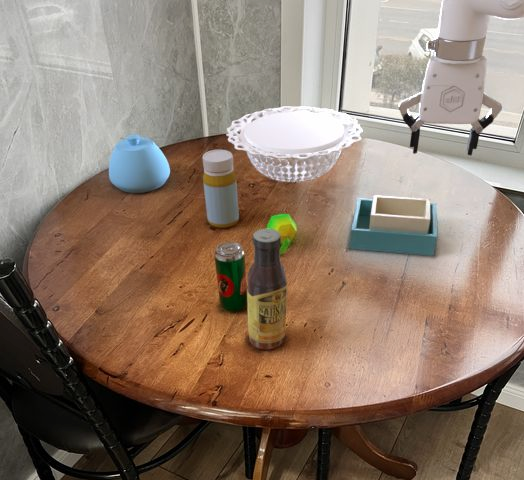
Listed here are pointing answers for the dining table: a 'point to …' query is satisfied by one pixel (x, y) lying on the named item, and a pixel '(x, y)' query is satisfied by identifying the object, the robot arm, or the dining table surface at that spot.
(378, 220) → the lone bin
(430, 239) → the bin
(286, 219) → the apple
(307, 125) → the white lattice bowl
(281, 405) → the dining table surface
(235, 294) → the soda can
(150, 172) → the sugar bowl
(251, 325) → the sauce bottle
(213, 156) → the bottle
